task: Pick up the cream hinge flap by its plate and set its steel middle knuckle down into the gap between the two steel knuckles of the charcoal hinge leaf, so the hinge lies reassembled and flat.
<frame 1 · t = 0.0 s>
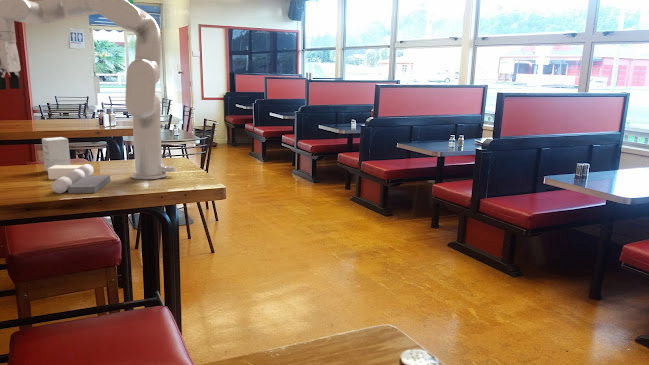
hand: (8, 89, 169), 31 cm above the table, fingers open, 9 cm apart
fixed leaf: (84, 186, 165), on the table
supplement box: (58, 171, 189), on the table
cream hinge flap: (85, 177, 180), on the table
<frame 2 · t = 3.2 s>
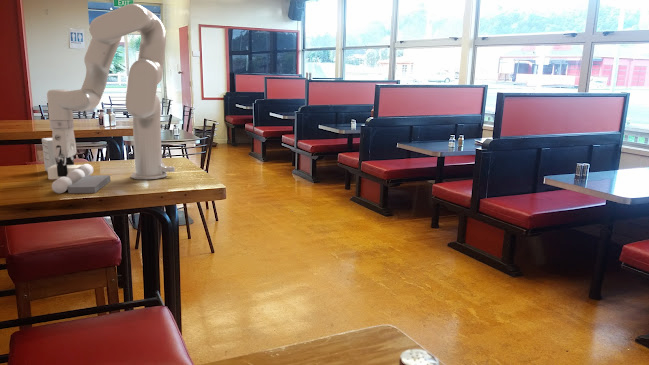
hand: (66, 173, 178), 1 cm above the table, fingers closed on cream hinge flap, 6 cm apart
cream hinge flap: (84, 177, 180), on the table, touching gripper
everything else where it was.
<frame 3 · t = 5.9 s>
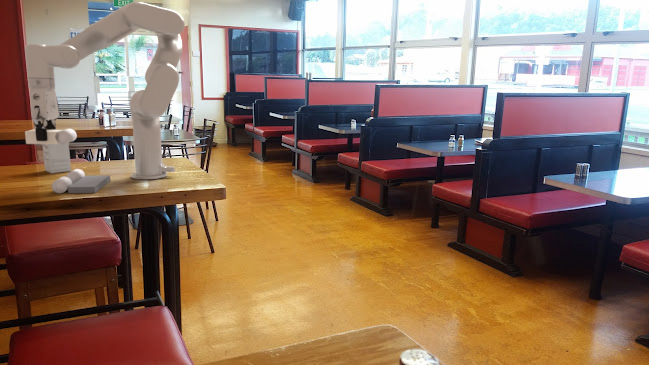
hand: (46, 138, 162), 16 cm above the table, fingers closed on cream hinge flap, 6 cm apart
cream hinge flap: (66, 142, 163), point 15 cm above the table, touching gripper
everything else where it was.
when the fingers open (2 cm above the table, at t = 8.7 s): cream hinge flap stays where it is, on the table.
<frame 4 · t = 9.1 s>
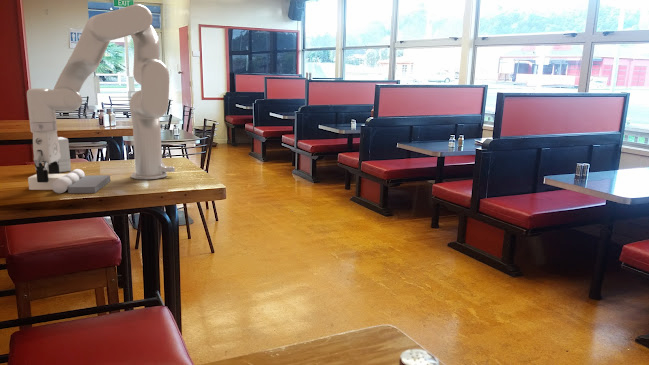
hand: (49, 178, 163), 3 cm above the table, fingers open, 9 cm apart
cream hinge flap: (69, 187, 164), on the table
everything else where it was.
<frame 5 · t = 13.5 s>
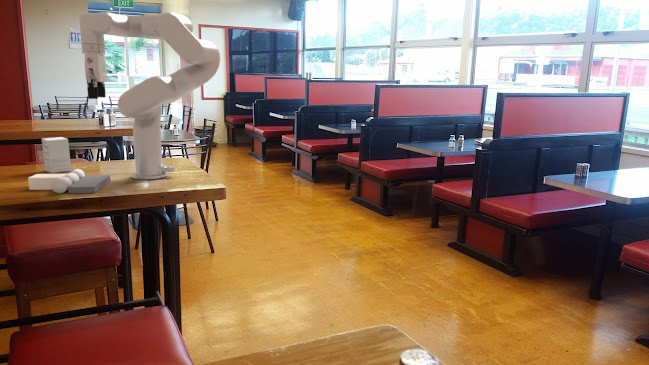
hand: (97, 97, 180), 28 cm above the table, fingers open, 9 cm apart
nothing on the table moved.
at the end: cream hinge flap 0.1 cm from the target spot on the fixed leaf, point 0.0 cm above the fixed leaf's base; cream hinge flap tilted 0°; the gripper is holding nothing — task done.
